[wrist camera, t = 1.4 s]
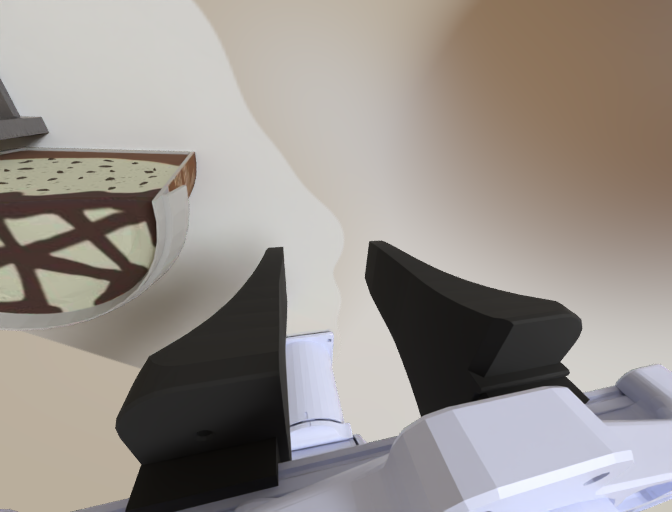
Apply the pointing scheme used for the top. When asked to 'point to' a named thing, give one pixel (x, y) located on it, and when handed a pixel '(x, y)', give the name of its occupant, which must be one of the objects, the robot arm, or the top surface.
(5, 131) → the bookend
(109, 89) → the top surface
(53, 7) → the top surface
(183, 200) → the food container
